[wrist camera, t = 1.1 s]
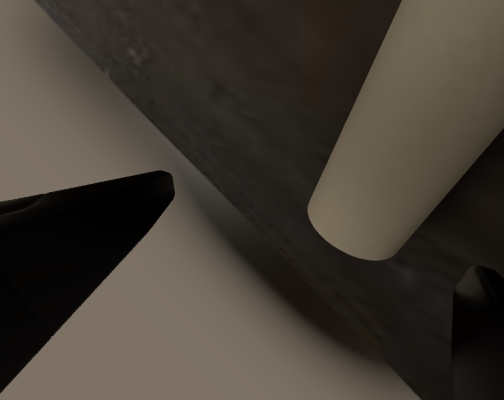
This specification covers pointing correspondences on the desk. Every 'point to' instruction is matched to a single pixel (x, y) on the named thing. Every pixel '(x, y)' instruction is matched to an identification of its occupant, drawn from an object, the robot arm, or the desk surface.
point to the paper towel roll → (413, 125)
